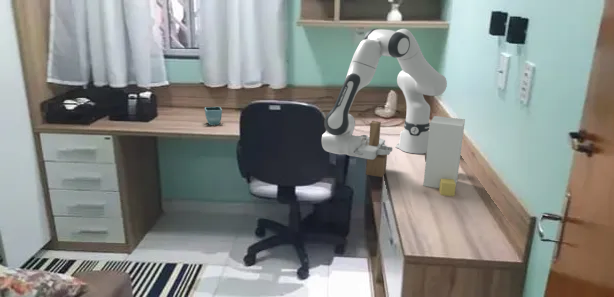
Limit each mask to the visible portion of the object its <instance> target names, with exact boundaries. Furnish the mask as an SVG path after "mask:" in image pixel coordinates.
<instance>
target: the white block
mask: <svg viewBox="0 0 614 297" xmlns="http://www.w3.org/2000/svg"><path fill="white" fill-rule="evenodd" d="M429 123H430V127H429V137H428V147H427V156H426V162H425V165H424V166H425V168H424V177H423V187H428V188H435V189H439V187H440V179H454V181H455V183H456V184H457V183H458V178H459V176H458V175H459V169H460V163H461V162H460V161H461V153H462V146H463V145H462V144H463V139H464V131H465V125H466V124H465V123H466V119H464V118H455V117H454V118H453V117H448V116H447V117H446V116H437V115H433V117H432V119H431V120H430V121H429Z"/></svg>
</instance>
